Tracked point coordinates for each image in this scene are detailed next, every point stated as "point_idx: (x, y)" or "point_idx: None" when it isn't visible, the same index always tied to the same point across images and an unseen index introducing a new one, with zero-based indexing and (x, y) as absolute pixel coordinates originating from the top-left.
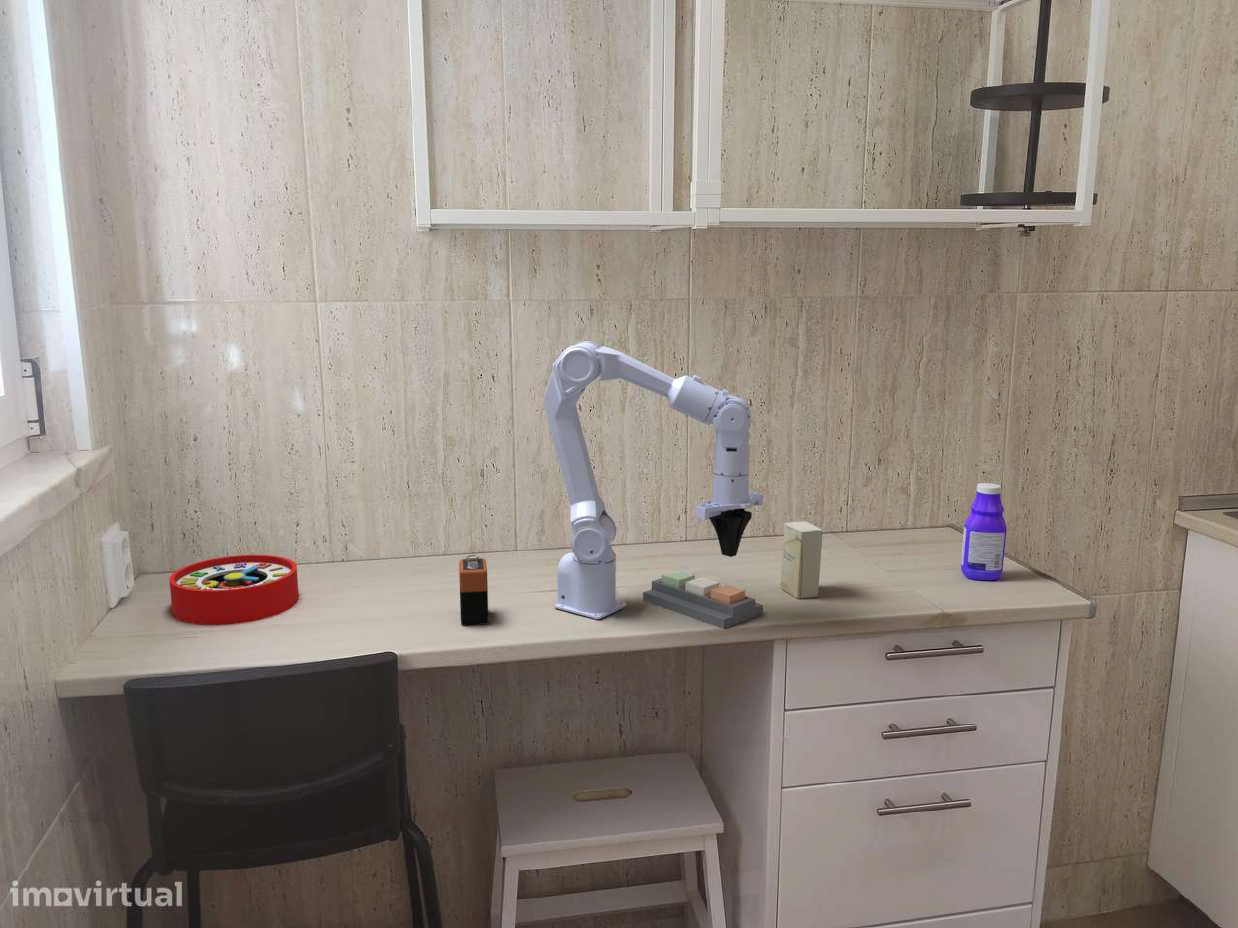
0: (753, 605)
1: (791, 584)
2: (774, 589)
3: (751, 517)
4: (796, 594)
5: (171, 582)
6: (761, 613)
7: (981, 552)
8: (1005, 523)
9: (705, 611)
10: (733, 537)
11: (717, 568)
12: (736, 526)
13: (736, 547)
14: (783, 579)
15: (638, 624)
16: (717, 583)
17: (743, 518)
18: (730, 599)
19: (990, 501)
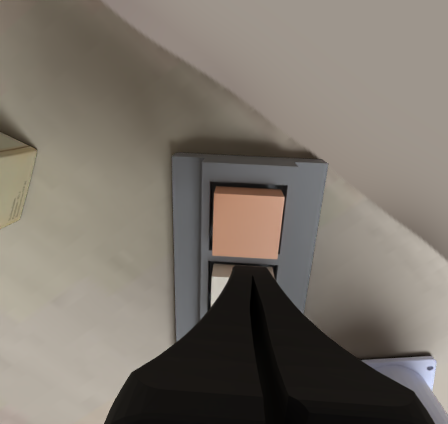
0: (211, 159)
1: (12, 182)
2: (36, 225)
3: (137, 374)
4: (30, 155)
5: None
6: (182, 153)
7: None
8: None
9: (307, 227)
10: (294, 315)
11: (45, 366)
12: (312, 359)
13: (247, 279)
14: (4, 217)
15: (407, 296)
16: (219, 276)
17: (261, 395)
18: (278, 193)
19: None
